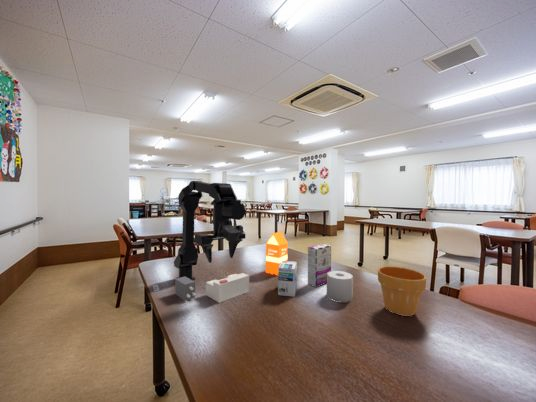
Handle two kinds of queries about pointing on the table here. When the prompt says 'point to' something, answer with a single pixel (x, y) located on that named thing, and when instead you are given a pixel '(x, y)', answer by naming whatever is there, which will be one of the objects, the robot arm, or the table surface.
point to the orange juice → (276, 252)
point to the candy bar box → (318, 264)
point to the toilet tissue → (339, 286)
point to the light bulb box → (287, 278)
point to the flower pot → (401, 288)
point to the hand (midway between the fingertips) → (221, 260)
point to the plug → (185, 288)
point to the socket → (228, 287)
